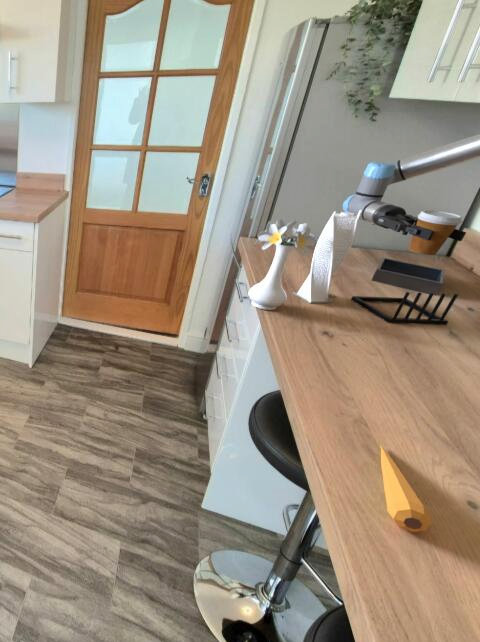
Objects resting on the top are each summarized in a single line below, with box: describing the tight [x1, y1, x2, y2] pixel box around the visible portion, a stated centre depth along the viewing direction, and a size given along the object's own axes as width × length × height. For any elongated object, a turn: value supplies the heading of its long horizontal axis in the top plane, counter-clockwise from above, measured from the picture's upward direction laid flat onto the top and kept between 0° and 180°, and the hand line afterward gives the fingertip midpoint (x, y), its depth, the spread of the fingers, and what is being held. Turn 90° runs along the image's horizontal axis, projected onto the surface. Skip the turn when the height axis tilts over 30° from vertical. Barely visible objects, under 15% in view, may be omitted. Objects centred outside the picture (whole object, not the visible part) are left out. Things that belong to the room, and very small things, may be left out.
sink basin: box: [371, 257, 445, 296], centre depth 140 cm, size 15×15×4 cm
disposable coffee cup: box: [407, 209, 463, 256], centre depth 131 cm, size 10×10×12 cm
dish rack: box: [350, 291, 459, 326], centre depth 120 cm, size 15×14×9 cm
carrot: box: [380, 445, 432, 533], centre depth 69 cm, size 20×4×4 cm, turn 147°
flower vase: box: [247, 218, 317, 311], centre depth 120 cm, size 13×18×25 cm
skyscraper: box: [292, 210, 362, 304], centre depth 123 cm, size 8×8×28 cm
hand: (446, 236), depth 126 cm, fingers closed on disposable coffee cup, 8 cm apart
